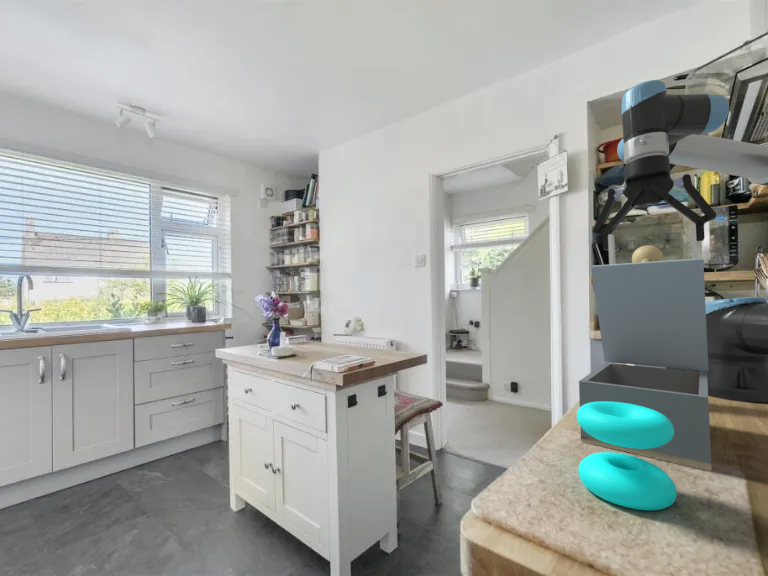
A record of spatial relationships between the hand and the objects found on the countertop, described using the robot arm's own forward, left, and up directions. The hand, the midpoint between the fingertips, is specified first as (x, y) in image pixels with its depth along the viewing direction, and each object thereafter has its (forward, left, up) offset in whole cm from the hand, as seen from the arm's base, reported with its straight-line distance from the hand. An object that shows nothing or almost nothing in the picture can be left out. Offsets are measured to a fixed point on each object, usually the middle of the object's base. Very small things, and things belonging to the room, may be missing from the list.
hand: (651, 262), depth 73 cm
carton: (+11, +8, -31) cm, 34 cm away
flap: (+6, +4, -11) cm, 13 cm away
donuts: (+31, +23, -31) cm, 49 cm away
